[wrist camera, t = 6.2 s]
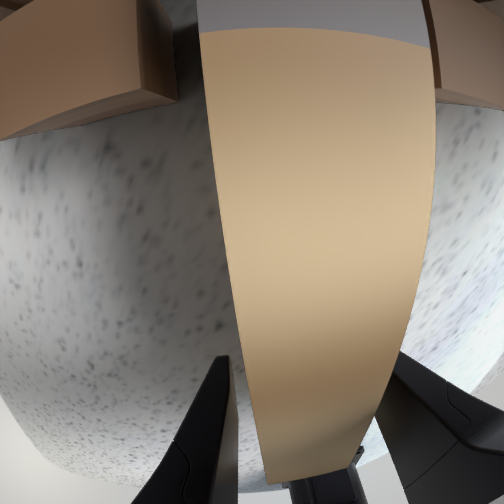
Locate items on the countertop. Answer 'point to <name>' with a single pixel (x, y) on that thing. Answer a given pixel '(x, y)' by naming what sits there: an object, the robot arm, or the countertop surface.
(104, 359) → the countertop surface
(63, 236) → the countertop surface
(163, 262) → the countertop surface
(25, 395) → the countertop surface
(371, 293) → the rail
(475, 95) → the headboard
